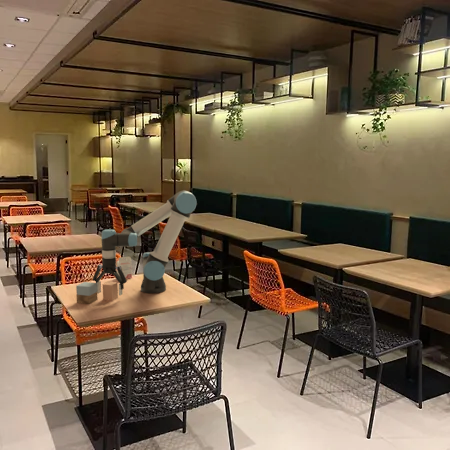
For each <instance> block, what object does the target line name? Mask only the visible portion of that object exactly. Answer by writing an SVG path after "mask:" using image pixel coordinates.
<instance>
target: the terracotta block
mask: <svg viewBox="0 0 450 450" xmlns="http://www.w3.org/2000/svg"><path fill="white" fill-rule="evenodd" d="M118 298H119V283H118V282H115V281H107V282H105V283H103V284H102V300H103V301H109V302H110V301H111V302H113V301H115V300H117V299H118Z"/></svg>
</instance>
